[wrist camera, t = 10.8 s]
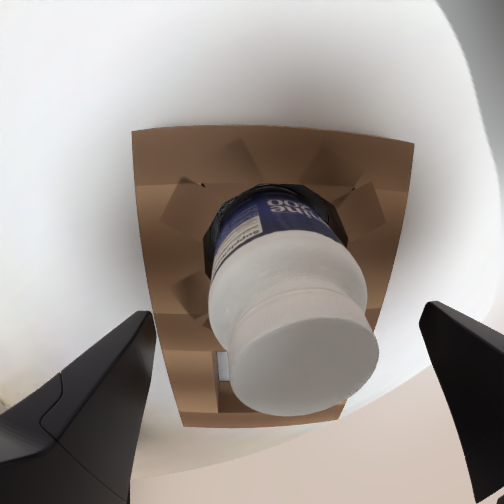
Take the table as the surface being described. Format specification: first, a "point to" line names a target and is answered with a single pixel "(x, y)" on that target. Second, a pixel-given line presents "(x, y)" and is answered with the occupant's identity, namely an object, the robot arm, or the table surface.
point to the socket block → (206, 208)
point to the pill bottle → (288, 306)
